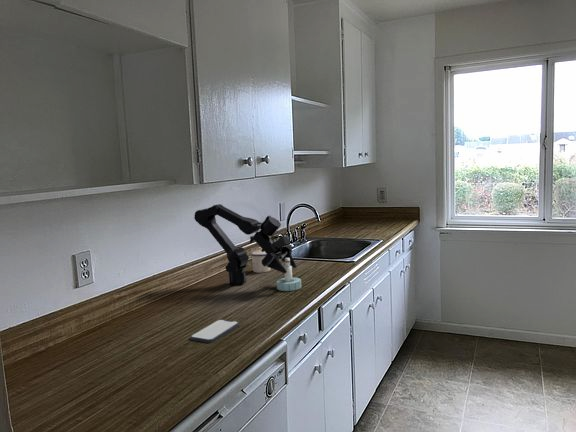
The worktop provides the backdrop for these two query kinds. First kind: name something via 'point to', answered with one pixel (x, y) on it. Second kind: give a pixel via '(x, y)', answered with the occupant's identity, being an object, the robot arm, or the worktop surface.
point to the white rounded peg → (288, 270)
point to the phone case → (215, 331)
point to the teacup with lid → (258, 261)
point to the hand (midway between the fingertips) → (291, 270)
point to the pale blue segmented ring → (288, 284)
